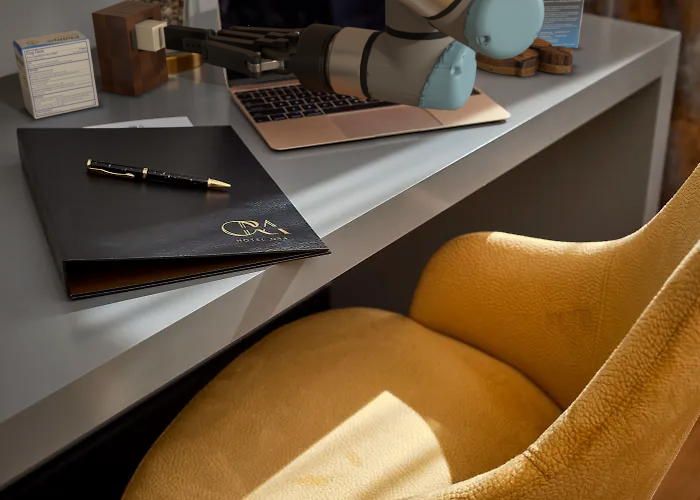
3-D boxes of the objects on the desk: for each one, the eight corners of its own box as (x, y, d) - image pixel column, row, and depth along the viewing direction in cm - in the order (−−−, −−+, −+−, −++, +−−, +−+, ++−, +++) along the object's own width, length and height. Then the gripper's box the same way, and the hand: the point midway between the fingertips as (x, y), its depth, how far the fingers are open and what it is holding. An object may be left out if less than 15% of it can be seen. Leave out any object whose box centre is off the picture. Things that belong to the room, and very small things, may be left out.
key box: (170, 80, 120) (161, 4, 116) (136, 96, 115) (126, 17, 110) (136, 74, 123) (127, -1, 118) (102, 90, 117) (91, 12, 112)
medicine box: (88, 97, 115) (77, 28, 111) (99, 107, 112) (89, 37, 108) (24, 109, 111) (11, 39, 107) (34, 120, 108) (21, 48, 104)
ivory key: (169, 45, 115) (166, 21, 114) (155, 51, 113) (152, 27, 112) (150, 42, 117) (147, 19, 115) (135, 48, 114) (132, 24, 113)
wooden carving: (588, 35, 122) (552, 45, 115) (585, 70, 124) (549, 81, 117) (483, 25, 132) (443, 33, 125) (481, 57, 134) (442, 67, 127)
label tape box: (571, 41, 134) (580, -46, 128) (579, 49, 130) (589, -40, 124) (511, 42, 133) (518, -45, 127) (517, 51, 129) (525, -38, 123)
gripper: (313, 110, 101) (139, 81, 110) (363, 75, 111) (200, 51, 120) (311, 43, 97) (131, 19, 106) (363, 13, 107) (195, -6, 116)
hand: (168, 36), depth 113 cm, fingers closed
